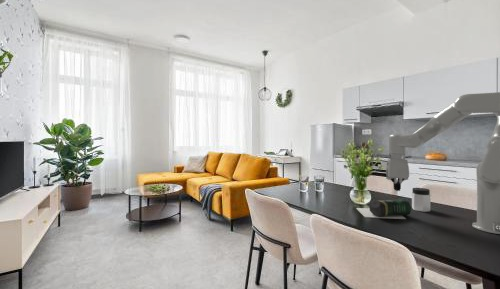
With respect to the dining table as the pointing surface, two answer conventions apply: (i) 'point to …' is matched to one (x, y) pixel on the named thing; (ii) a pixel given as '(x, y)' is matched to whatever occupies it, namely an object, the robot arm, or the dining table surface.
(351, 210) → the dining table surface
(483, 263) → the dining table surface
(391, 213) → the coffee jar
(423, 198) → the jar
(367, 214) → the mat
